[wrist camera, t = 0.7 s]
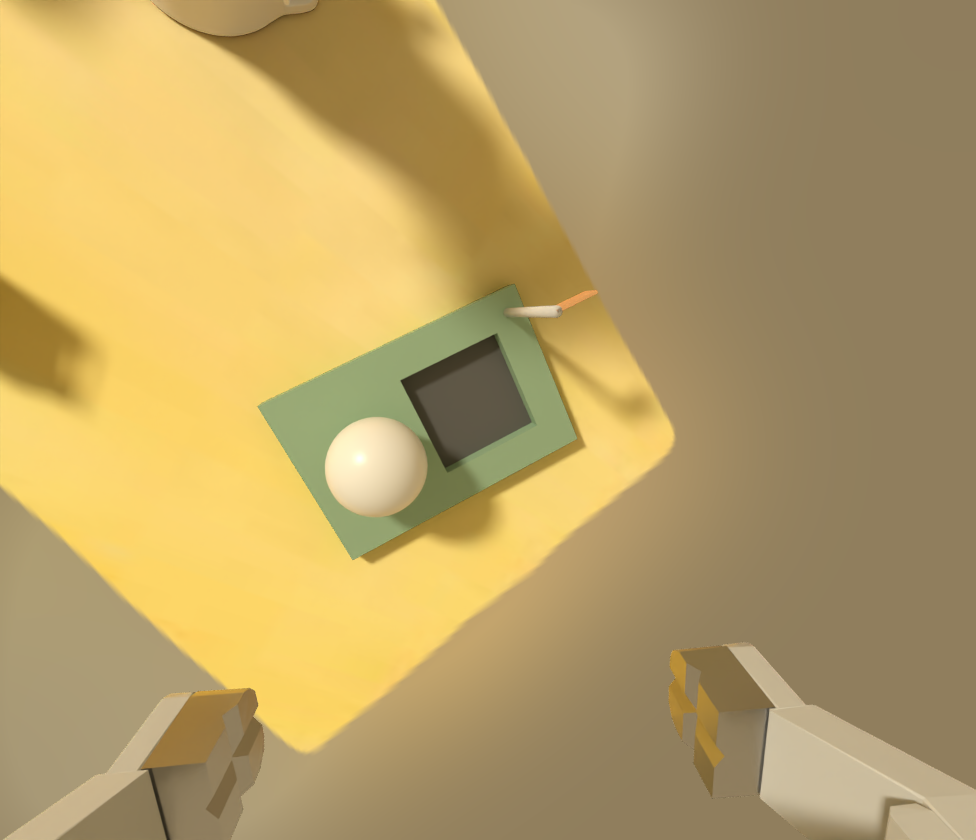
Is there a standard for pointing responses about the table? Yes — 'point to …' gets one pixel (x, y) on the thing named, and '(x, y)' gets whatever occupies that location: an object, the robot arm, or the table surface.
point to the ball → (376, 467)
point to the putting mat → (434, 409)
